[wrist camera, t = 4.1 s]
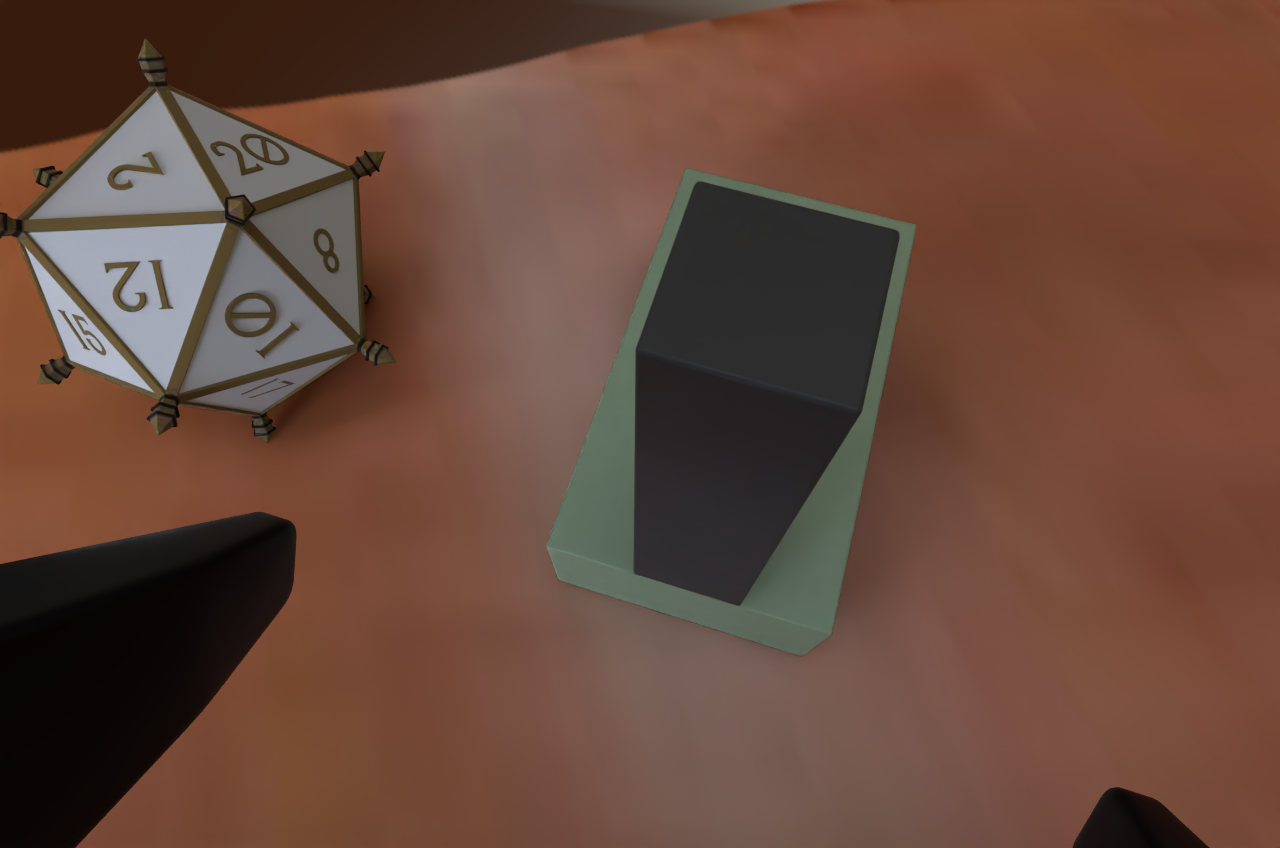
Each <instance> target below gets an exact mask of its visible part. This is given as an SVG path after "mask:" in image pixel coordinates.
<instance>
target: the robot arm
mask: <svg viewBox="0 0 1280 848" xmlns="http://www.w3.org/2000/svg"><path fill="white" fill-rule="evenodd" d="M296 537H297V536H296V528H295V526H294V524H293V523H292V522H291V521H289V520H286V519H283V518H280V517H277V516H273V515H270V514H267V513H264V512H254V513H249V514H244V515H239V516H234V517H229V518H225V519H220V520H215V521H210V522H205V523H200V524H195V525H190V526H185V527H180V528H176V529H171V530H166V531H161V532H156V533H151V534H146V535H141V536H136V537H131V538H126V539H122V540H117V541H112V542H107V543H102V544H97V545H92V546H87V547H82V548H77V549H72V550H68V551H63V552H58V553H53V554H48V555H43V556H38V557H33V558H28V559H23V560H19V561H14V562H9V563H4V564H0V848H76V847H77V845H78V844H79V843H80V842H81V841H82V840H83V839H84V838H85V837H86V836H87V835H88V834H89V833H90V832H91V830H92V829H93V828H94V827H95V826H96V825H97V824H98V823H99V822H100V821H101V820H102V819H103V818H104V817H105V816H106V814H107V813H108V812H109V811H110V810H111V809H112V808H113V807H114V806H115V805H116V804H117V803H118V802H119V801H120V799H121V798H122V797H123V796H124V795H125V794H126V793H127V792H128V791H129V790H130V789H131V788H132V787H133V786H134V785H135V783H136V782H137V781H138V780H139V779H140V778H141V777H142V776H143V775H144V774H145V773H146V772H147V771H148V770H149V768H150V767H151V766H152V765H153V764H154V763H155V762H156V761H157V760H158V759H159V758H160V757H161V756H162V755H163V754H164V752H165V751H166V750H167V749H168V748H169V747H170V746H171V745H172V744H173V743H174V742H175V741H176V740H177V739H178V737H179V736H180V735H181V734H182V733H183V732H184V731H185V730H186V729H187V728H188V727H189V726H190V724H191V723H192V722H193V721H194V720H195V719H196V718H197V717H198V715H199V714H200V713H201V712H202V711H203V710H204V709H205V707H206V706H207V705H208V704H209V702H210V701H211V700H212V699H213V697H214V696H215V695H216V694H217V692H218V691H219V690H220V689H221V687H222V686H223V685H224V683H225V682H226V681H227V679H228V678H229V677H230V675H231V674H232V673H233V671H234V670H235V669H236V668H237V666H238V665H239V664H240V662H241V661H242V660H243V658H244V657H245V656H246V654H247V653H248V652H249V651H250V649H251V648H252V647H253V645H254V644H255V643H256V641H257V640H258V639H259V637H260V636H261V635H262V633H263V632H264V631H265V630H266V628H267V627H268V626H269V624H270V623H271V622H272V620H273V619H274V618H275V616H276V615H277V614H278V613H279V611H280V610H281V609H282V607H283V606H284V604H285V603H286V601H287V599H288V598H289V596H290V593H291V591H292V587H293V582H294V568H295V552H296ZM1073 848H1209V847H1208V846H1207V845H1206V844H1205V843H1204V842H1203V841H1201V840H1200V839H1199V838H1198V837H1197V836H1196V835H1195V834H1194V833H1193V832H1192V831H1191V830H1190V829H1189V828H1187V827H1186V826H1185V825H1184V824H1183V823H1182V822H1181V821H1180V820H1179V819H1178V818H1177V817H1176V816H1175V815H1173V814H1172V813H1171V812H1170V811H1169V810H1168V809H1167V808H1166V807H1165V806H1164V805H1163V804H1161V803H1160V802H1159V801H1157V800H1155V799H1153V798H1151V797H1148V796H1145V795H1142V794H1139V793H1135V792H1132V791H1129V790H1126V789H1123V788H1120V787H1115V788H1110V789H1108V790H1107V791H1106V792H1105V793H1104V794H1103V795H1102V797H1101V798H1100V800H1099V801H1098V803H1097V805H1096V806H1095V808H1094V810H1093V812H1092V813H1091V815H1090V817H1089V818H1088V820H1087V822H1086V823H1085V825H1084V827H1083V828H1082V830H1081V832H1080V833H1079V835H1078V837H1077V838H1076V840H1075V843H1074V845H1073Z"/></svg>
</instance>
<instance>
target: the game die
mask: <svg viewBox="0 0 1280 848" xmlns="http://www.w3.org/2000/svg"><path fill="white" fill-rule="evenodd" d="M164 59H165V57H162V56H161V55H160V54H159V53H158V52H157V51H156V49H154V47H153V46H152V45H151V44H150V43H149V42H148V41H147V40H146V39H145V40H144V43H143V46H142V49H141V52H140V55H139V58H136V61H139V62H140V65H141V68H142V70H140V72H141V73H144V75H145V76H146V78H147V79H148V81H149V87H148V88H147V89H146V90H145V91H144V92H143V93H142V94H141V95H140V96H139V97H138V98H137V99H136V100H135V101H134V102H133V103H132V104H131V105H130V106H129V107H128V109H126V110H125V111H124V112H123V113H122V114H121V115H120V116H119V117H118V118H117V119H116V120H115V121H114V122H113V123H112V124H111V125H110V126H109V127H108V128H107V129H106V130H105V131H104V132H103V133H102V134H101V135H100V136H99V137H98V138H97V139H96V140H95V141H94V142H93V143H92V144H91V145H90V146H89V147H88V148H87V149H86V150H85V151H84V152H83V153H82V154H81V155H80V156H79V157H78V158H77V159H76V160H75V161H74V162H73V163H72V164H71V165H70V166H69V167H68V168H67V169H66V170H65V171H64V172H62V171H56V170H55V167H54V166H49V167H45V168H40V169H33V172H34V174H35V176H36V179H37V180H36V183H38V184H40V185H42V186H44V187H46V188H47V189H46V190H45V191H44V192H43V193H42V194H41V195H40V196H39V197H38V198H37V199H36V200H35V201H34V202H33V203H32V204H31V205H30V206H29V207H28V208H27V209H26V210H25V211H24V212H23V213H22V214H21V215H20V216H19V217H18V218H17V219H12V218H10V217H8V216H7V214H6V213H2V212H0V238H1V237H2V236H11V235H12V236H14V237H16V238H17V241H18V243H19V246H20V248H21V251H22V253H23V256H24V258H25V261H26V263H27V265H28V268H29V270H30V273H31V275H32V278H33V280H34V283H35V285H36V288H37V290H38V292H39V295H40V297H41V300H42V302H43V305H44V307H45V310H46V312H47V315H48V317H49V319H50V322H51V324H52V327H53V329H54V332H55V334H56V337H57V339H58V342H59V344H60V346H61V349H62V351H63V354H64V356H63V357H62V358H60V359H57V360H54V359H51V360H49V361H50V363H48V364H46V365H43V364H42V365H40V366H41V369H42V370H41V373H40V377H39V380H38V384H44V383H56V384H58V385H59V384H60V383H61V381H62V379H63V378H66V379H67V378H68V377H69V375H70V373H71V370H72V369H74V368H77V369H79V370H82V371H85V372H87V373H90V374H92V375H95V376H97V377H100V378H103V379H105V380H108V381H110V382H113V383H115V384H118V385H120V386H123V387H126V388H128V389H131V390H133V391H136V392H138V393H141V394H144V395H146V396H149V397H151V398H154V399H156V400H159V401H160V402H159V403H157V404H156V405H155V406H153V407H152V408H151V411H153V412H152V414H151V415H150V416H148V417H147V420H149V421H150V422H151V423H152V425H153V427H154V429H155V431H156V433H157V435H160V434H161V433H163V432H165V431H166V430H168V429H170V428H171V427H177V421H176V418H179V416H180V415H179V411H178V407H177V406H184V407H191V408H198V409H205V410H212V411H219V412H226V413H233V414H240V415H248V416H252V417H253V419H254V421H252V428H254V436H258V437H259V438H261V439H262V440H264V441H265V442H266V443H268V442H269V440H270V437H271V435H272V433H273V431H274V430H275V429H276V428H275V427H273V426H272V422H273V420H272V419H269V418H268V416H267V415H266V412H267V411H269V410H270V409H272V408H273V407H275V406H276V405H278V404H279V403H281V402H282V401H284V400H285V399H287V398H288V397H290V396H291V395H293V394H294V393H296V392H297V391H299V390H300V389H302V388H303V387H305V386H306V385H308V384H309V383H311V382H312V381H314V380H315V379H317V378H318V377H320V376H321V375H323V374H325V373H326V372H328V371H329V370H331V369H332V368H334V367H335V366H337V365H338V364H340V363H341V362H343V361H344V360H346V359H347V358H349V357H350V356H352V355H353V354H355V353H356V352H361V353H362V354H363V355H364V356H365V357H366V358H365V360H366V361H368V360H370V361H372V362H374V365H375V366H376V365H378V364H385V363H395V361H394V359H393V358H392V356H391V354H390V353H389V351H388V347H386V346H385V345H382V346H380V345H379V344H380V343H378V342H376V341H373V342H371V341H367V340H366V328H365V306H364V304H368V303H369V301H371V300H372V299H374V298H375V296H374V295H373V294H372V292H371V291H370V289H369V288H368V286H367V285H365V286H364V285H363V264H362V242H361V221H360V200H359V179H360V178H361V177H363V176H367V175H369V176H372V175H371V173H373V172H375V171H376V170H377V171H378V172H379V171H380V170H379V167H380V164H381V162H382V159H383V156H384V154H385V152H366V151H364V153H365V154H363V155H362V156H361V157H358V156H357V157H356V159H357V160H356V161H355V163H354V164H353V165H351V166H347V165H345V164H343V163H340V162H338V161H336V160H334V159H331V158H329V157H327V156H325V155H323V154H320V153H318V152H316V151H314V150H312V149H309V148H307V147H305V146H303V145H300V144H298V143H296V142H294V141H292V140H289V139H287V138H285V137H283V136H280V135H278V134H276V133H274V132H272V131H269V130H267V129H265V128H263V127H261V126H258V125H256V124H254V123H252V122H249V121H247V120H245V119H243V118H241V117H238V116H236V115H234V114H232V113H229V112H227V111H225V110H223V109H221V108H218V107H216V106H214V105H212V104H210V103H207V102H205V101H203V100H201V99H198V98H196V97H194V96H192V95H189V94H187V93H185V92H183V91H181V90H178V89H176V88H174V87H172V86H170V85H168V84H167V82H166V72H167V71H168V69H167V68H165V66H164V62H163V60H164Z"/></svg>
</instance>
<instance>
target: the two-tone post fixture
mask: <svg viewBox="0 0 1280 848" xmlns="http://www.w3.org/2000/svg"><path fill="white" fill-rule="evenodd" d="M915 231H916V225H915V224H911V223H907V222H903V221H899V220H895V219H891V218H887V217H883V216H879V215H875V214H871V213H867V212H863V211H858V210H854V209H850V208H846V207H842V206H838V205H834V204H830V203H826V202H822V201H818V200H814V199H810V198H806V197H802V196H798V195H794V194H790V193H786V192H782V191H778V190H774V189H770V188H766V187H762V186H758V185H754V184H750V183H745V182H741V181H737V180H733V179H729V178H725V177H721V176H717V175H713V174H709V173H705V172H701V171H697V170H693V169H689V168H686V169H685V170H684V173H683V176H682V179H681V181H680V184H679V187H678V189H677V192H676V195H675V198H674V200H673V203H672V206H671V208H670V211H669V214H668V217H667V219H666V222H665V225H664V227H663V230H662V233H661V236H660V238H659V241H658V244H657V247H656V249H655V252H654V255H653V257H652V260H651V263H650V266H649V268H648V271H647V274H646V276H645V279H644V282H643V285H642V287H641V290H640V293H639V295H638V298H637V301H636V304H635V306H634V309H633V312H632V314H631V317H630V320H629V323H628V325H627V328H626V331H625V333H624V336H623V339H622V342H621V344H620V347H619V350H618V352H617V355H616V358H615V361H614V363H613V366H612V369H611V371H610V374H609V377H608V380H607V382H606V385H605V388H604V390H603V393H602V396H601V399H600V401H599V404H598V407H597V409H596V412H595V415H594V418H593V420H592V423H591V426H590V428H589V431H588V434H587V437H586V439H585V442H584V445H583V448H582V450H581V453H580V456H579V458H578V461H577V464H576V467H575V469H574V472H573V475H572V477H571V480H570V483H569V486H568V488H567V491H566V494H565V496H564V499H563V502H562V505H561V507H560V510H559V513H558V515H557V518H556V521H555V524H554V526H553V529H552V532H551V534H550V537H549V540H548V543H547V545H546V547H547V550H548V553H549V555H550V558H551V561H552V564H553V566H554V569H555V572H556V574H557V577H558V580H560V581H563V582H566V583H569V584H572V585H575V586H579V587H582V588H585V589H588V590H591V591H595V592H598V593H601V594H604V595H607V596H610V597H614V598H617V599H620V600H623V601H626V602H630V603H633V604H636V605H639V606H642V607H645V608H649V609H652V610H655V611H658V612H661V613H665V614H668V615H671V616H674V617H677V618H680V619H684V620H687V621H690V622H693V623H696V624H699V625H703V626H706V627H709V628H712V629H715V630H719V631H722V632H725V633H728V634H731V635H734V636H738V637H741V638H744V639H747V640H750V641H754V642H757V643H760V644H763V645H766V646H769V647H773V648H776V649H779V650H782V651H785V652H789V653H792V654H795V655H798V656H803V655H805V654H806V653H808V652H809V651H810V650H812V649H813V648H815V647H816V646H817V645H819V644H820V643H822V642H823V641H824V640H826V639H827V638H829V637H830V636H831V635H832V633H833V628H834V623H835V619H836V614H837V609H838V604H839V599H840V594H841V590H842V585H843V580H844V575H845V570H846V565H847V561H848V556H849V551H850V546H851V541H852V536H853V532H854V527H855V522H856V517H857V512H858V507H859V502H860V498H861V493H862V488H863V483H864V478H865V473H866V469H867V464H868V459H869V454H870V449H871V444H872V440H873V435H874V430H875V425H876V420H877V415H878V411H879V406H880V401H881V396H882V391H883V386H884V382H885V377H886V372H887V367H888V362H889V357H890V352H891V348H892V343H893V338H894V333H895V328H896V323H897V319H898V314H899V309H900V304H901V299H902V294H903V290H904V285H905V280H906V275H907V270H908V265H909V261H910V256H911V251H912V246H913V241H914V236H915Z"/></svg>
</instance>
